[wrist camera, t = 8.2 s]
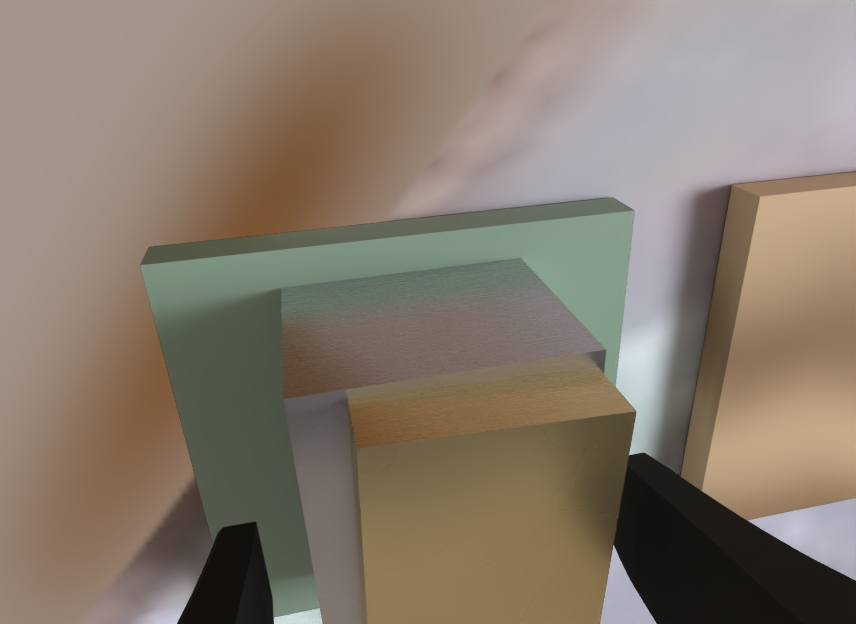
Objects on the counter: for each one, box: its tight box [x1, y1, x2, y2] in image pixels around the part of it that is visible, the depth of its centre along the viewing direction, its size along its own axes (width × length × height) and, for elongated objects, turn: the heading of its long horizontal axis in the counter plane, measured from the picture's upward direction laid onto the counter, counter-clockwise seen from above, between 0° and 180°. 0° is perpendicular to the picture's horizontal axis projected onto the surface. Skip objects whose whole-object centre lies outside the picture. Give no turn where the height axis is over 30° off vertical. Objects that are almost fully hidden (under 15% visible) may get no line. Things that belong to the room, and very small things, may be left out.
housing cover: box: [348, 368, 636, 624], centre depth 11 cm, size 4×7×1 cm, turn 0°
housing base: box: [281, 258, 606, 624], centre depth 13 cm, size 5×8×4 cm, turn 3°
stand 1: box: [140, 198, 635, 617], centre depth 16 cm, size 10×10×1 cm
